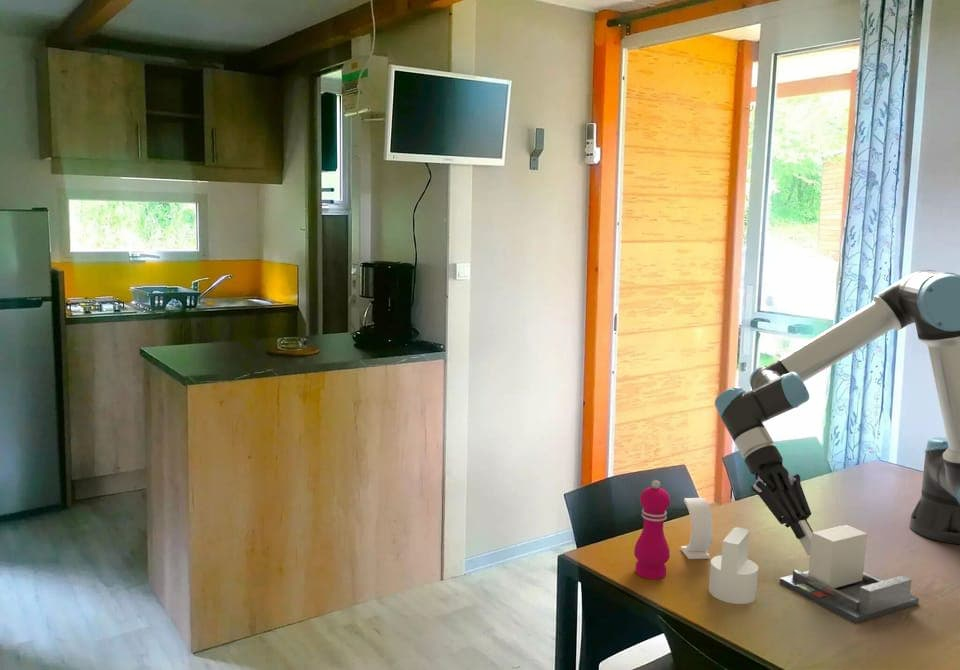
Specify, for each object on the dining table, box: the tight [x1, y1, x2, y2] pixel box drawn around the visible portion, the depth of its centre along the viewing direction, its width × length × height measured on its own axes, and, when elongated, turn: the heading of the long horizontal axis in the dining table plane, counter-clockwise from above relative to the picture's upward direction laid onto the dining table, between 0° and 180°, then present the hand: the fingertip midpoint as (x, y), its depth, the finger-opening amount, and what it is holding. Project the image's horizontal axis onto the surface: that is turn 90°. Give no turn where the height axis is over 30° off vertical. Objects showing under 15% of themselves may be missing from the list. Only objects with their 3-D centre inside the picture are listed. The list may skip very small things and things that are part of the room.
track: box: [779, 569, 920, 625], centre depth 160 cm, size 18×18×6 cm
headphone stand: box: [680, 497, 714, 560], centre depth 177 cm, size 5×6×12 cm
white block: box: [808, 524, 868, 588], centre depth 163 cm, size 10×6×10 cm, turn 118°
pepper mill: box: [633, 480, 671, 580], centre depth 166 cm, size 7×7×20 cm
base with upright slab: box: [708, 526, 759, 605], centre depth 159 cm, size 9×9×12 cm
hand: (814, 551), depth 167 cm, fingers closed
